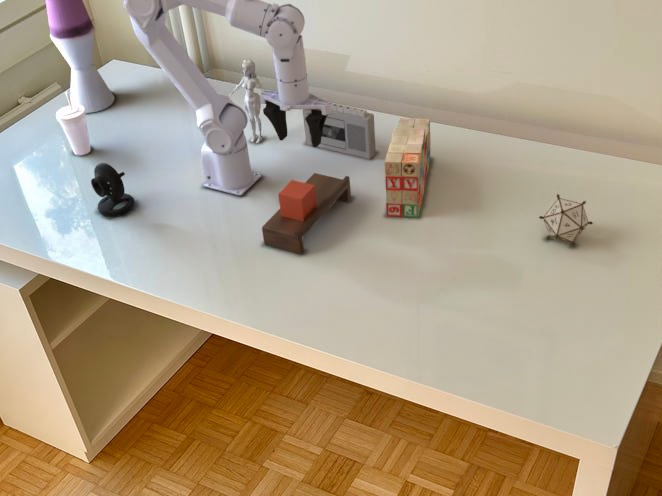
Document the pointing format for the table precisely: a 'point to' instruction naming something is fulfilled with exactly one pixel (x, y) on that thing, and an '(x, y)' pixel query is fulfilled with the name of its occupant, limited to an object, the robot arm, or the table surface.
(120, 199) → the webcam
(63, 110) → the smoothie
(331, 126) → the cassette player
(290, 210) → the block
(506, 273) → the table surface
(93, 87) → the lamp
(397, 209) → the stack of blocks
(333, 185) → the shelf
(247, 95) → the human figurine
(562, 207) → the game die
